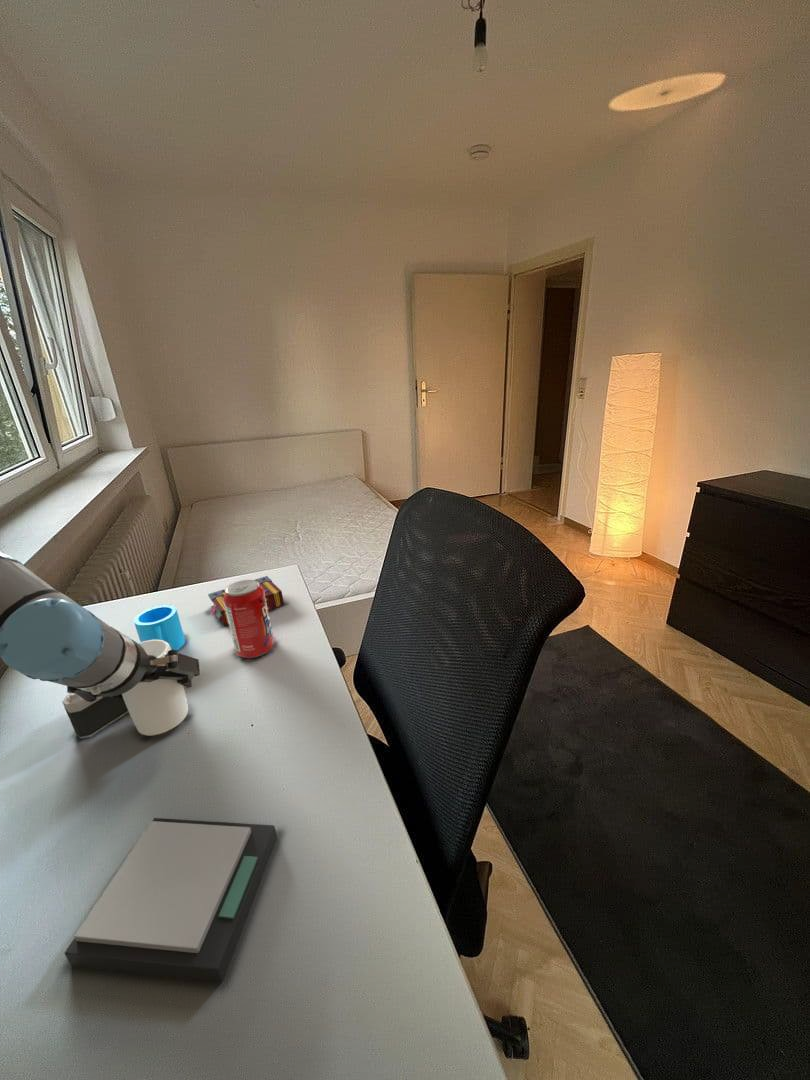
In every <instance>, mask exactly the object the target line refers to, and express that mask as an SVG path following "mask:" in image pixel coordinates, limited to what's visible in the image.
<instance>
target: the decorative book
mask: <svg viewBox="0 0 810 1080" xmlns="http://www.w3.org/2000/svg"><path fill="white" fill-rule="evenodd" d="M254 580H255V581H257V582H258V583H259V585H260V586H261V587H262V588H263V589H264V593H265V598H266V603H267V608H268V612H271V611H273V610H274V609H275V608H277V607H278V608H279V607H280V606H284V605H285V602H284V597H283V591H282V590H281V589H280V588H279V587H278V585H276V584H275V583H274V582H273V580H272V579H271V577H269V576H268V575H265V576H262V577H259V578H255V579H254ZM207 595H208V598H209V599H210V601H211V602H212V603H213V605H211V606H210V608H211V609H209V613H210V615H211V616H213V615H214V614H215V616H216V619H217V620H219V621H220V622H221V623H222V626H224V627H225V626H227V625H229V622H228V618H227V614H226V609H225V605H224V601H223V597H224V595H225V588H224V589H220V590H217V591H214V592H211V593H208V594H207ZM211 613H212V614H211Z"/></svg>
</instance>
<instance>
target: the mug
mask: <svg viewBox="0 0 810 1080" xmlns="http://www.w3.org/2000/svg"><path fill="white" fill-rule="evenodd" d="M133 624H134V626H135V630H136V634H137V636H138V638H139V641H140V642H144V641H148V640H163V641H165V642H167V643H168V644H169V645H170V647H171V650H177V651H178V650H180V649H181V648H182V647H183V646H184V645H185V643H186V637H185V634H184V631H183V626H182V624H181V620H180V616H179V613H178V610H177V607H176V606H174V605H169V604H164V605H157V606H153V607H150V608H148V609H145V610H143V611H142V612H140V613H138V614H137V615H136V616H135V617H134V618H133ZM140 642H139V643H140Z"/></svg>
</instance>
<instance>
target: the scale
mask: <svg viewBox="0 0 810 1080" xmlns="http://www.w3.org/2000/svg"><path fill="white" fill-rule="evenodd" d="M277 839H278V835H277V830H276V826H275V824H258V823H245V822H243V823H242V822H227V821H211V820H210V821H209V820H194V819H193V820H192V819H176V818H161V817H154V818H153V819H152V821H151V820H150V822H149V824H148V825H147V827H146V828H145V830H144V831H143V833H142V834H141V836H140V837H139V838H138V840H137V841H136V843H135V845H134V846H133V848H132V849H131V851H130V852H129V854H128V855H127V857H126V858H125V860H124V861H123V863H122V864H121V866H120V867H119V869H118V870H117V871H116V873H115V874H114V876H113V878H111V881H110V882H109V883H108V885H107V886H106V888H105V890H104V891H103V893H102V894H101V895H100V897H99V899H98V900H97V902H96V903H95V905H94V906H93V908H92V909H91V911H90V912H89V914H88V915H87V916H86V918H85V920H84V921H83V923H82V924H81V926H80V927H79V929H78V930H77V932H76V933H75V935H74V936H73V937H74V938H73V939H72V941H71V942H70V944H69V945H68V947H67V948H66V950H65V951H64V956H65V958H66V959H67V960H68V962H69V964H70V966H71V967H76V968H77V967H78V968H87V969H96V970H106V971H115V972H123V973H135V974H143V975H153V976H159V977H160V976H162V977H171V978H180V979H187V980H197V981H198V980H199V981H206V982H207V981H208V982H215V983H216V982H217V983H223V982H224V980H225V977H226V974H227V971H228V969H229V966H230V963H231V961H232V958H233V955H234V953H235V950H236V948H237V945H238V942H239V939H240V937H241V934H242V931H243V930H244V927H245V924H246V922H247V918H248V916H249V914H250V910H251V908H252V905H253V903H254V900H255V897H256V894H257V892H258V890H259V887H260V884H261V882H262V879H263V876H264V873H265V871H266V868H267V865H268V863H269V860H270V857H271V854H272V852H273V850H274V847H275V844H276V842H277Z"/></svg>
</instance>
